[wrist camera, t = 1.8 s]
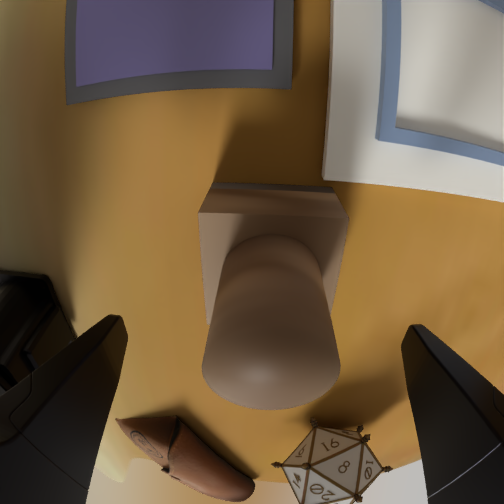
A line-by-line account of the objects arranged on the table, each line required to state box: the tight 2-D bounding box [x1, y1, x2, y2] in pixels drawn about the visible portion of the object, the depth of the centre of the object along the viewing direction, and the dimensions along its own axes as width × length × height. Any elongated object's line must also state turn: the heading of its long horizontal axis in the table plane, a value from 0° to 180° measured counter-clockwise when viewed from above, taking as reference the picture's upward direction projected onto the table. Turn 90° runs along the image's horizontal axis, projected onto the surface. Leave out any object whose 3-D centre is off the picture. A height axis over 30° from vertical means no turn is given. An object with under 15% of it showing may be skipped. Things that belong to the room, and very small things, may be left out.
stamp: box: [198, 183, 349, 410], centre depth 11 cm, size 5×5×8 cm
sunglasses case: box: [116, 416, 255, 502], centre depth 27 cm, size 18×7×7 cm
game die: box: [271, 417, 393, 504], centre depth 20 cm, size 9×8×10 cm
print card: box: [322, 0, 504, 202], centre depth 9 cm, size 12×12×1 cm
